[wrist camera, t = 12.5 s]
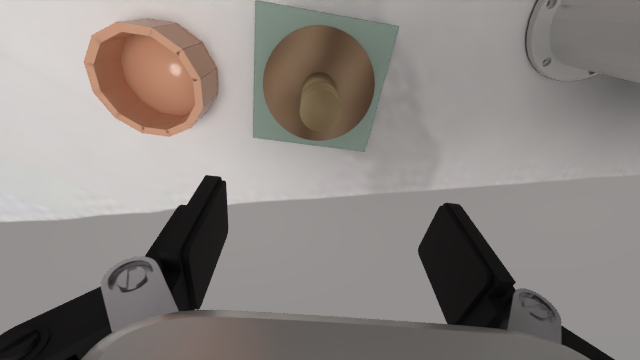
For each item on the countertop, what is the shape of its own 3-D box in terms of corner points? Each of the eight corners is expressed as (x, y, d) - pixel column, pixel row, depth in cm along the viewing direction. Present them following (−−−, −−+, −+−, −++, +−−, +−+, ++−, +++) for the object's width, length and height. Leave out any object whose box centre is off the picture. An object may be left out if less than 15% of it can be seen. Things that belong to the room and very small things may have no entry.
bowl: (214, 29, 27) (196, 34, 23) (219, 123, 32) (206, 140, 28) (108, 12, 26) (69, 13, 22) (132, 111, 31) (104, 128, 27)
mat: (397, 26, 27) (398, 26, 26) (363, 149, 35) (364, 151, 34) (256, 0, 25) (255, 0, 25) (253, 135, 33) (253, 137, 33)
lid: (386, 36, 27) (410, 47, 20) (359, 143, 33) (370, 177, 27) (266, 15, 26) (250, 19, 19) (262, 131, 32) (249, 163, 26)
